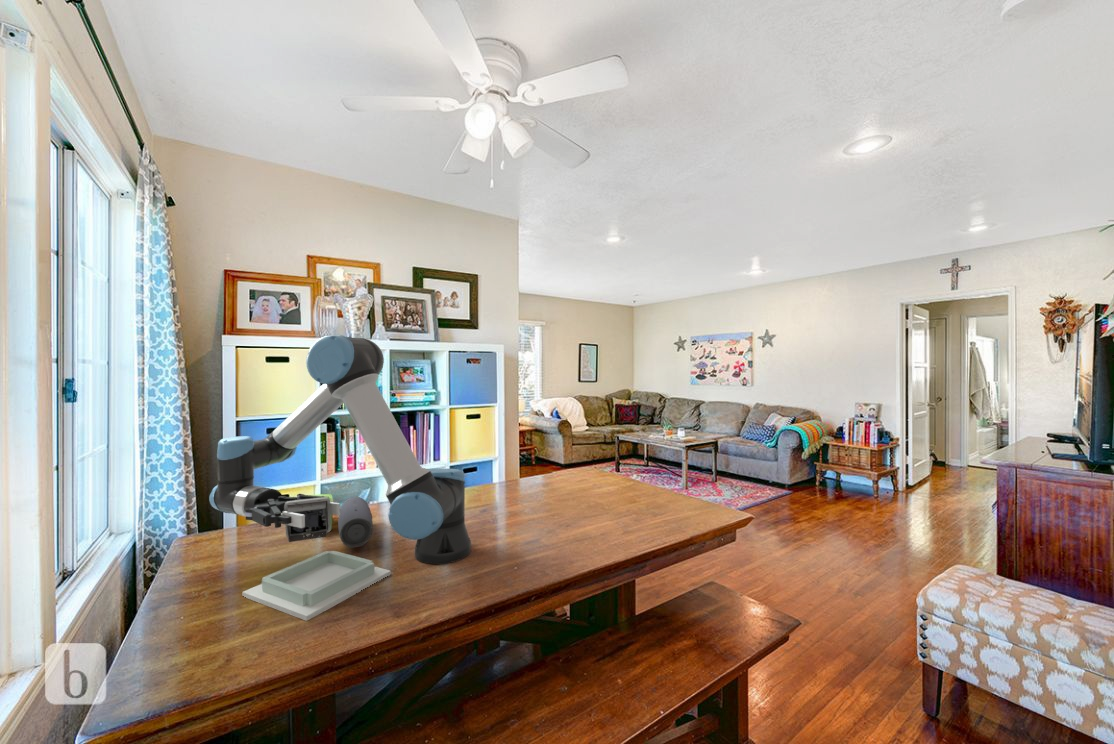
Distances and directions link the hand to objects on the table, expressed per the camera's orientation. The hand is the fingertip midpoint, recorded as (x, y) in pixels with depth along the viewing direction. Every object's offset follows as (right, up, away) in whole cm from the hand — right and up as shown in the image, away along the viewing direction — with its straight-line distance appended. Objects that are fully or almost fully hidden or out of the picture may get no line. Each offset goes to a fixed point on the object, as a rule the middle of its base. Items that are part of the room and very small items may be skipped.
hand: (321, 515), depth 100 cm
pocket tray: (-2, -18, +3) cm, 18 cm away
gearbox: (-22, -18, +41) cm, 50 cm away
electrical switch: (-4, -6, +2) cm, 8 cm away
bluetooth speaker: (-7, -18, +32) cm, 38 cm away
